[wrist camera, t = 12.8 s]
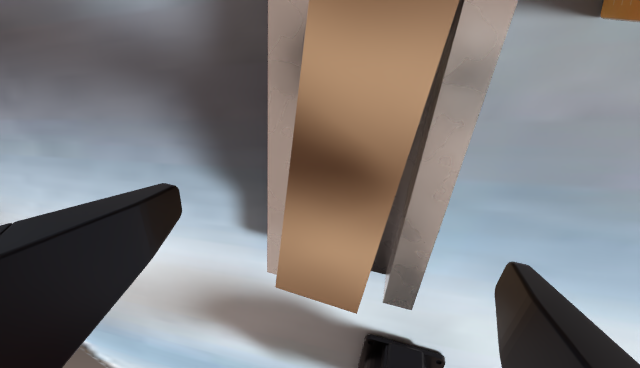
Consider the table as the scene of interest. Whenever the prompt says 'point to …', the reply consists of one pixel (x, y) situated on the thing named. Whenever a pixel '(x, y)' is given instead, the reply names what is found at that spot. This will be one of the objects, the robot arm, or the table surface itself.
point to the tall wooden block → (354, 136)
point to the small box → (621, 10)
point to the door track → (428, 145)
